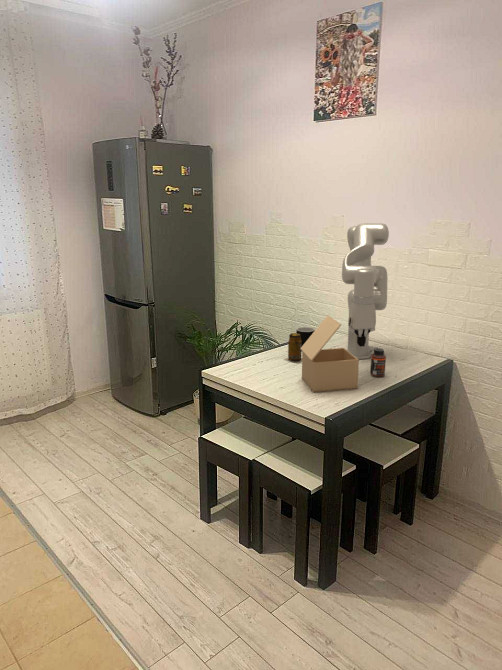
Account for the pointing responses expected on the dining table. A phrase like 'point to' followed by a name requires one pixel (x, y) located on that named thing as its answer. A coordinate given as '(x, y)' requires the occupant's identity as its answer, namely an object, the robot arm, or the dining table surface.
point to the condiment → (294, 348)
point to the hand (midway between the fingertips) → (361, 345)
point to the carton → (330, 370)
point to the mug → (305, 333)
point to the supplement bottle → (378, 363)
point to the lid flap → (320, 337)
